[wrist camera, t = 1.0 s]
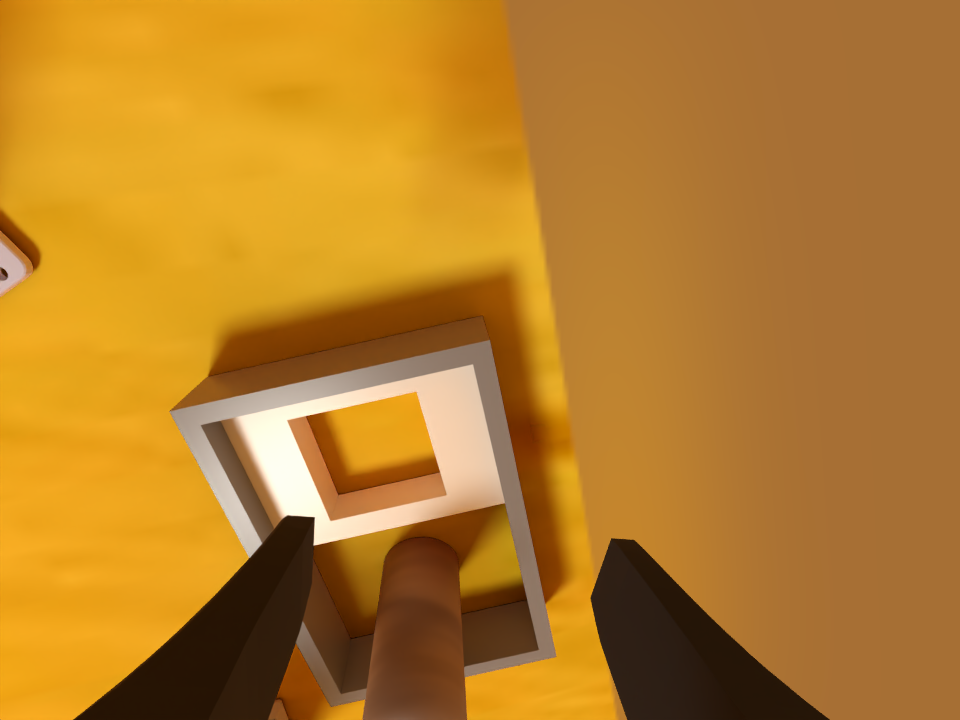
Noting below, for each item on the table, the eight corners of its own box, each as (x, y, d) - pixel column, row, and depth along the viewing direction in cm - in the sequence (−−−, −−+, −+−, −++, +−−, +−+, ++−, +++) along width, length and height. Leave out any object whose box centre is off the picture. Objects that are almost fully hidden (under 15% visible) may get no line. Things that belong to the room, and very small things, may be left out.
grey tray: (544, 606, 27) (556, 656, 24) (341, 651, 27) (330, 706, 24) (482, 315, 20) (489, 340, 17) (206, 377, 20) (169, 411, 17)
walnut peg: (410, 603, 26) (400, 778, 18) (368, 559, 24) (338, 729, 17) (472, 572, 25) (486, 738, 18) (432, 525, 24) (430, 685, 16)
